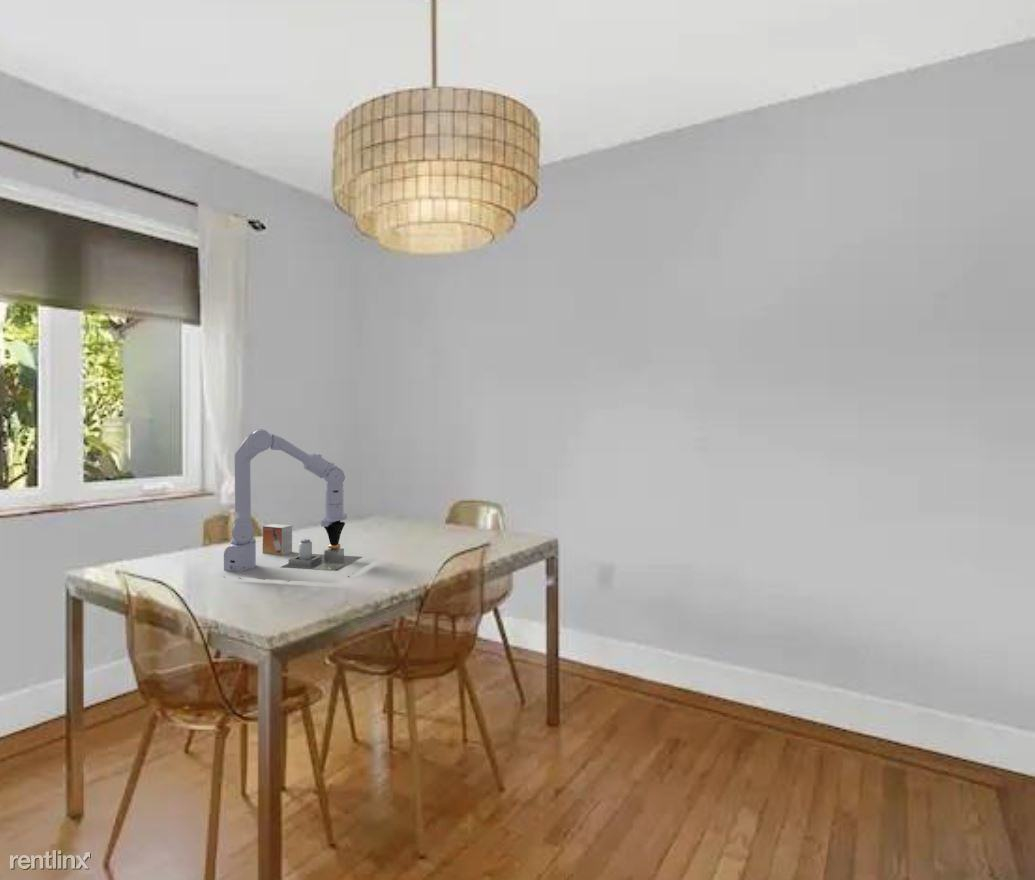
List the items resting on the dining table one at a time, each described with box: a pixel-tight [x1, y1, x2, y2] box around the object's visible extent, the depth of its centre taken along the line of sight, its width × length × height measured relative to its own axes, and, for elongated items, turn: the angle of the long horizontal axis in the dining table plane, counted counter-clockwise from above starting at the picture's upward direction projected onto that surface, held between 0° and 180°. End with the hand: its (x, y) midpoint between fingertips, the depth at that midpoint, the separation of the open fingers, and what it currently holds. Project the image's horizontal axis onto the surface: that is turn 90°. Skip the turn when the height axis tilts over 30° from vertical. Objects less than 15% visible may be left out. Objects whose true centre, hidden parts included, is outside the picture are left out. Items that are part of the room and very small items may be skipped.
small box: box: [262, 523, 293, 556], centre depth 220 cm, size 8×6×10 cm
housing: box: [280, 547, 363, 572], centre depth 207 cm, size 19×19×4 cm
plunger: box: [327, 543, 341, 551], centre depth 211 cm, size 4×4×4 cm
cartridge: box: [298, 538, 313, 560], centre depth 206 cm, size 4×4×7 cm
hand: (334, 544), depth 211 cm, fingers closed, pressing on plunger
